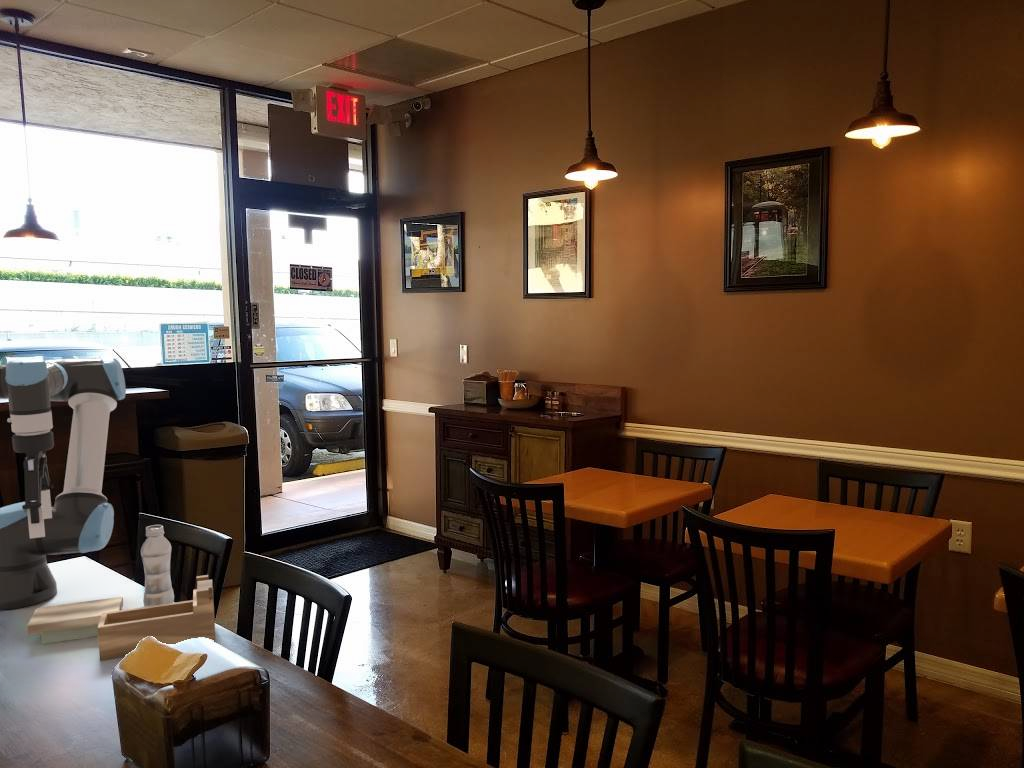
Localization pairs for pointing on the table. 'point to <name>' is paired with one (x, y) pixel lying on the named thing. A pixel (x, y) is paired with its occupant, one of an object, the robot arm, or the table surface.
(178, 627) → the toolbox
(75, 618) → the lid
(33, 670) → the table surface
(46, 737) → the table surface
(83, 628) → the block
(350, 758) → the table surface
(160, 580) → the plastic bottle
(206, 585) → the block
